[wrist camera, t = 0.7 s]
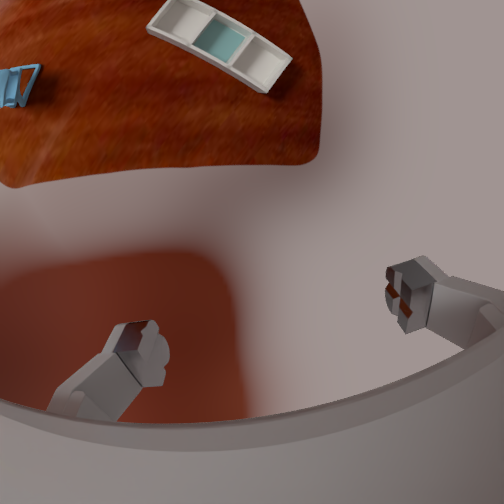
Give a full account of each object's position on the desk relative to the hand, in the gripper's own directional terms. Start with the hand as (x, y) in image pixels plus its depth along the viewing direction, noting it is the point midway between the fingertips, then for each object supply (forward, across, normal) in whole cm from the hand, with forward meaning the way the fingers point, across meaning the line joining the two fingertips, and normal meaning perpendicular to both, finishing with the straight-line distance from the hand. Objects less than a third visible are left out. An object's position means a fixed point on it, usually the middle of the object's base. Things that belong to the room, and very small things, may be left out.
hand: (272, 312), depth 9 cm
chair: (+33, +36, -30) cm, 57 cm away
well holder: (+41, 0, -23) cm, 47 cm away
